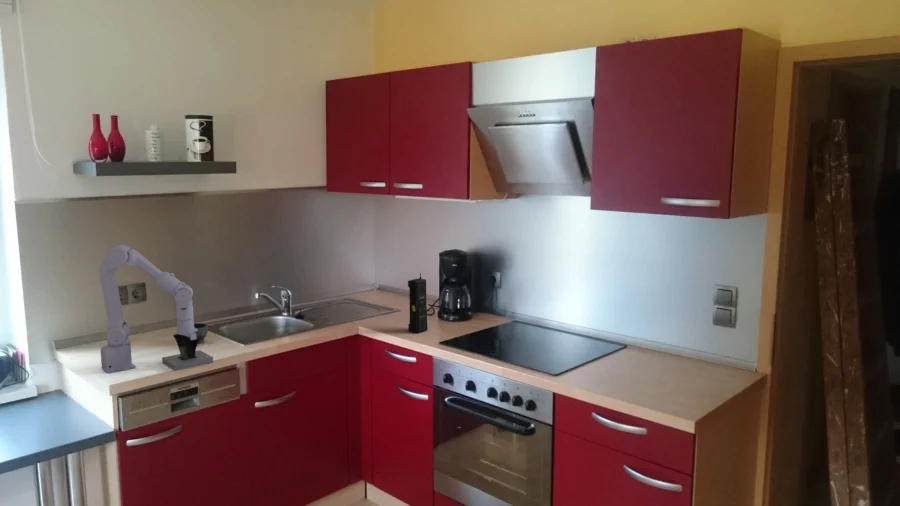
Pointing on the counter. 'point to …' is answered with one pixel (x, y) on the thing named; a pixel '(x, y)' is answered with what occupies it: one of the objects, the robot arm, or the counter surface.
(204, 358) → the plate
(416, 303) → the portable radio
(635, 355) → the counter surface
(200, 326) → the mortar and pestle
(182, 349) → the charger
